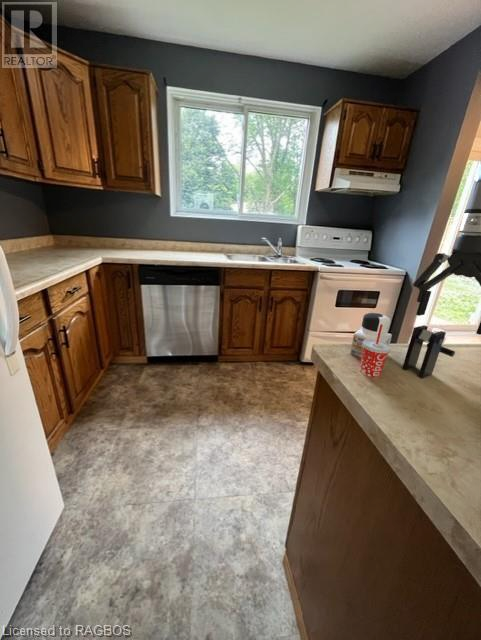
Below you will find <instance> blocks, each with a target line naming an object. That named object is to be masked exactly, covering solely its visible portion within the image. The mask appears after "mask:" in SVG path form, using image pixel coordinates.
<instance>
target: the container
mask: <svg viewBox="0 0 481 640" xmlns="http://www.w3.org/2000/svg"><path fill="white" fill-rule="evenodd" d="M362 317H363V318H362V322H361V327H360V329H359V330H357V331H356V332H354V333H353V335H352V342H351V347H350V351H349V354H350V355H351V356H355V357H358V358H360V359H361V357H362V351H363V345H362V344H363V341H364V340H366V339H374V340H377V337H378V333H379V328H380V324H382V325H383V326H382V330H381V334H380V338H379V341H383V342H385V343H387V344H389V345H390V346H391V341H392V336H393V334H392V333H389V329H390V324H391V319H390V317H389V316H387V315H385V314H381V313H378V312H369V313H365V314H364V315H363V316H362Z"/></svg>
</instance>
